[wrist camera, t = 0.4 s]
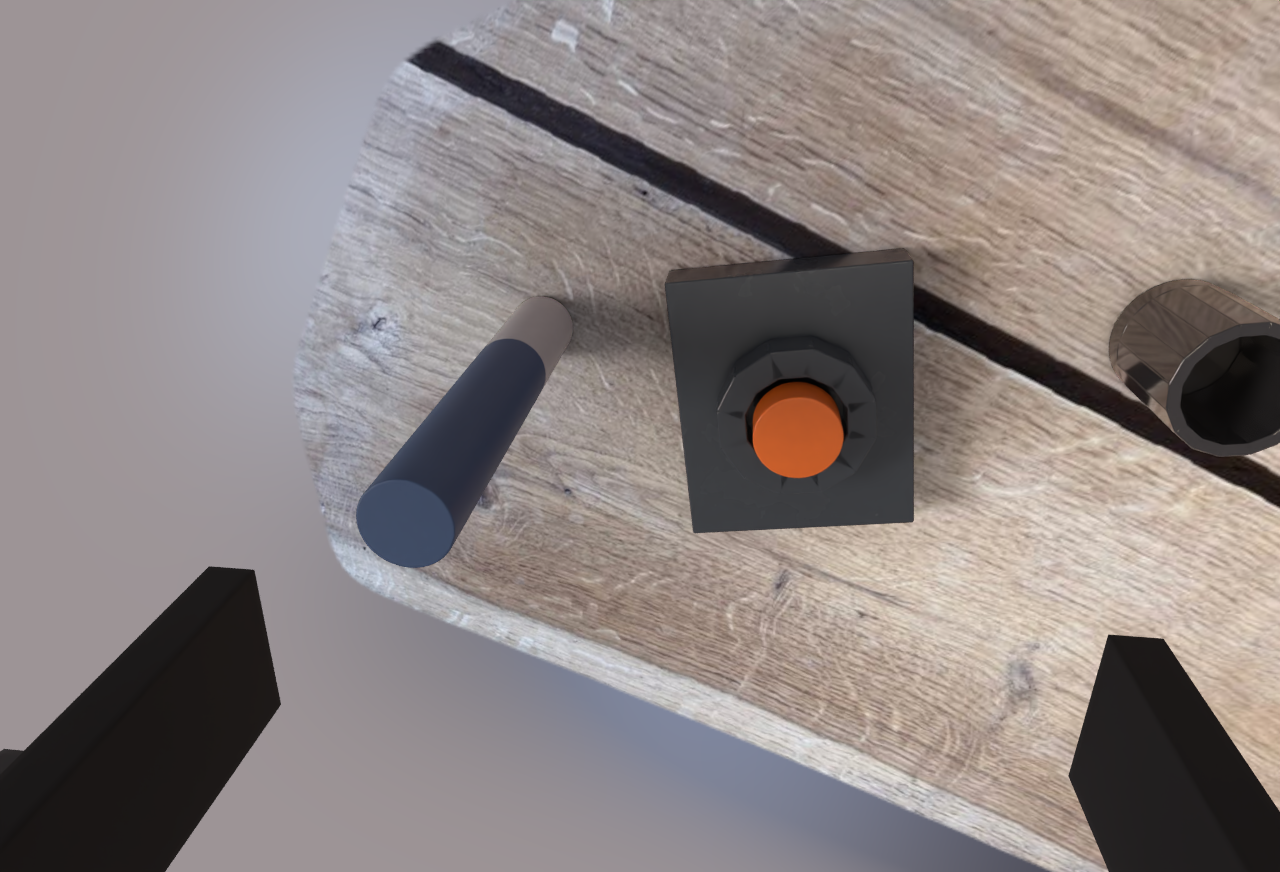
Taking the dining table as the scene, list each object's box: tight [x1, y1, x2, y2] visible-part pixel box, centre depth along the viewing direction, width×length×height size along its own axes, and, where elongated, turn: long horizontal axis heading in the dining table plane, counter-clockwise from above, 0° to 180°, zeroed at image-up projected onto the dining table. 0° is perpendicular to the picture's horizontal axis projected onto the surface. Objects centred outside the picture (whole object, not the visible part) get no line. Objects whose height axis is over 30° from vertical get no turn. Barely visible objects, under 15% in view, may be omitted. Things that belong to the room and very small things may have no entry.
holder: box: [1109, 279, 1280, 457], centre depth 35 cm, size 5×5×6 cm
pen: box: [356, 296, 573, 568], centre depth 33 cm, size 3×3×18 cm
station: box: [665, 248, 914, 533], centre depth 39 cm, size 12×10×4 cm
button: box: [753, 382, 844, 478], centre depth 37 cm, size 4×4×2 cm
